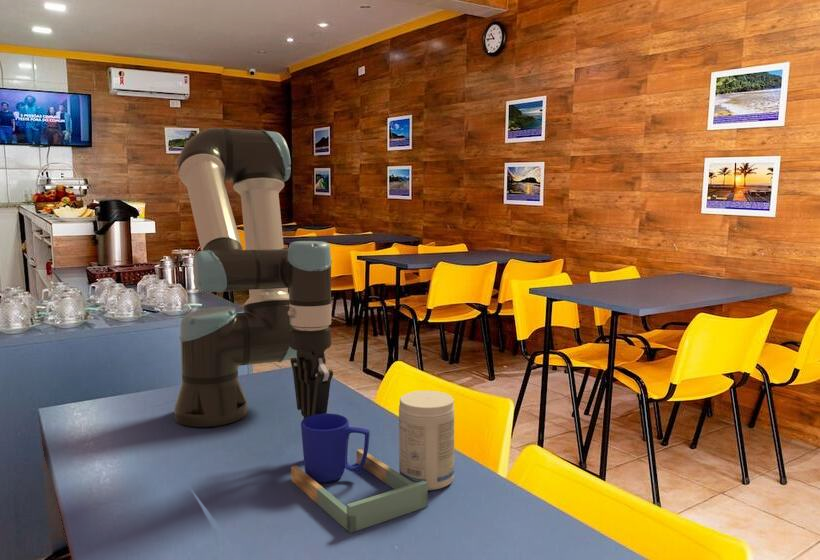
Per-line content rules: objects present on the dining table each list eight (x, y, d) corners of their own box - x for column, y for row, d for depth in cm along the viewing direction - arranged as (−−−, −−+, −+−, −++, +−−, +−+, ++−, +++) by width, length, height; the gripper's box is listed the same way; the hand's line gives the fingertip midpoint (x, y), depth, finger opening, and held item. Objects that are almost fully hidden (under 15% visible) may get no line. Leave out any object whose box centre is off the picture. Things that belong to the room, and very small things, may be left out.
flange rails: (291, 480, 107) (290, 466, 107) (361, 461, 115) (361, 448, 115) (317, 503, 99) (317, 489, 99) (390, 481, 107) (390, 468, 107)
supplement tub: (444, 465, 114) (445, 388, 112) (461, 489, 105) (463, 405, 103) (392, 471, 112) (393, 391, 110) (405, 495, 103) (406, 409, 101)
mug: (362, 491, 104) (362, 434, 102) (293, 483, 106) (293, 427, 105) (374, 470, 112) (375, 417, 110) (311, 463, 114) (310, 411, 113)
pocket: (317, 503, 99) (317, 480, 99) (390, 481, 107) (391, 459, 107) (350, 533, 91) (350, 507, 90) (427, 506, 99) (427, 482, 98)
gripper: (276, 322, 116) (279, 444, 119) (307, 335, 106) (308, 467, 109) (313, 318, 121) (314, 435, 123) (346, 330, 110) (346, 458, 113)
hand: (311, 450), depth 116 cm, fingers closed
